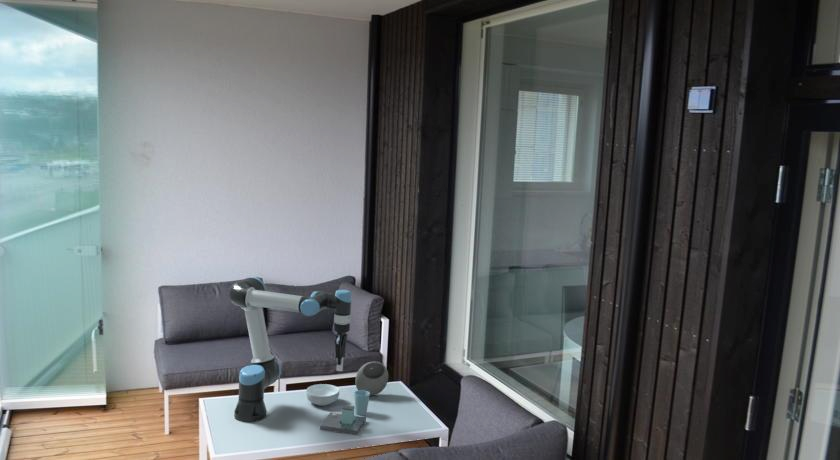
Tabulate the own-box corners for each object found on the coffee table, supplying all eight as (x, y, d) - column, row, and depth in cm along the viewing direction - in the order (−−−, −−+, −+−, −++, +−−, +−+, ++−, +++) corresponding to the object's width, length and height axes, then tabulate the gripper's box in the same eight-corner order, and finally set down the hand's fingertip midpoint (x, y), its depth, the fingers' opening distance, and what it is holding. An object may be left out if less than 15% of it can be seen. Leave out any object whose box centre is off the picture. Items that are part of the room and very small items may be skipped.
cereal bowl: (311, 395, 367) (311, 382, 366) (342, 398, 365) (343, 385, 364) (301, 407, 350) (302, 393, 349) (333, 411, 348) (334, 397, 347)
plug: (341, 426, 330) (342, 408, 329) (343, 422, 334) (344, 404, 333) (351, 427, 329) (352, 409, 328) (353, 424, 333) (354, 406, 332)
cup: (370, 415, 346) (372, 395, 345) (356, 416, 343) (357, 396, 342) (365, 409, 353) (366, 389, 352) (351, 411, 350) (352, 391, 348)
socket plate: (319, 429, 326) (319, 423, 325) (330, 416, 341) (330, 410, 341) (357, 434, 323) (357, 429, 322) (365, 421, 338) (366, 415, 338)
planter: (356, 400, 364) (358, 365, 362) (352, 395, 371) (354, 360, 368) (389, 396, 372) (391, 362, 370) (384, 391, 379) (386, 358, 376)
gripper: (345, 327, 325) (343, 375, 328) (353, 320, 338) (350, 367, 341) (330, 325, 327) (327, 373, 330) (338, 318, 339) (336, 365, 342)
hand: (339, 370), depth 335 cm, fingers closed
